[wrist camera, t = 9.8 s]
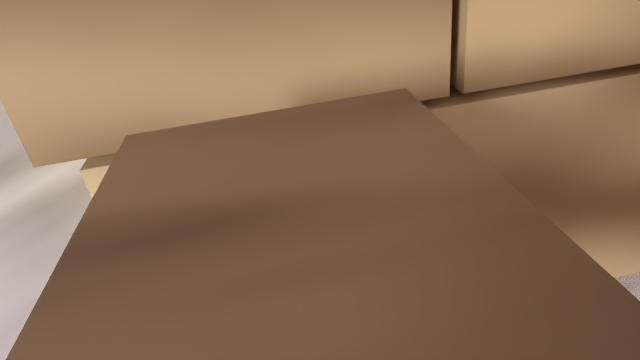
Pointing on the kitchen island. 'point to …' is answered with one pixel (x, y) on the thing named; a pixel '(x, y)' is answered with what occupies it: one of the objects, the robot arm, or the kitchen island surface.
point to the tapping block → (322, 250)
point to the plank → (551, 153)
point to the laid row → (275, 58)
